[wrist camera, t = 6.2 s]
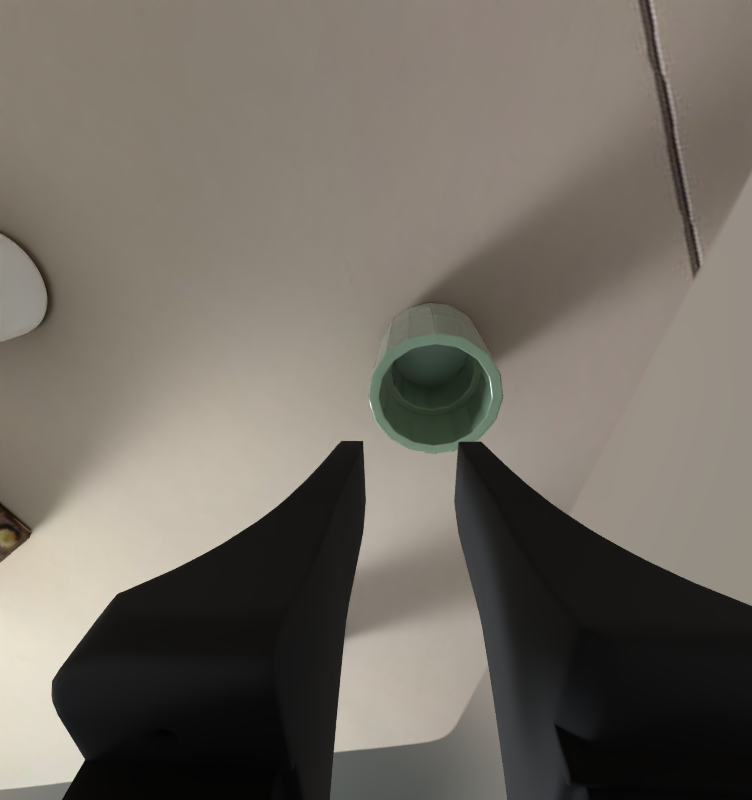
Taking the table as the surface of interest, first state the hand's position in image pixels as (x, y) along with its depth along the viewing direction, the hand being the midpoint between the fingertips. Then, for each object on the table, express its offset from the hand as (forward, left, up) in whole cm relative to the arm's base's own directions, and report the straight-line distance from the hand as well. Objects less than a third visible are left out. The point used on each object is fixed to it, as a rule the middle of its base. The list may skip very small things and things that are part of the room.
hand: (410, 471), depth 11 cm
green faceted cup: (-1, -1, -9) cm, 10 cm away
